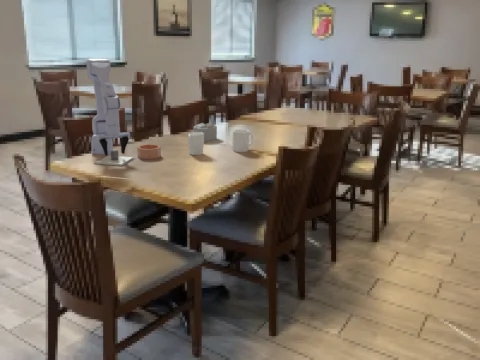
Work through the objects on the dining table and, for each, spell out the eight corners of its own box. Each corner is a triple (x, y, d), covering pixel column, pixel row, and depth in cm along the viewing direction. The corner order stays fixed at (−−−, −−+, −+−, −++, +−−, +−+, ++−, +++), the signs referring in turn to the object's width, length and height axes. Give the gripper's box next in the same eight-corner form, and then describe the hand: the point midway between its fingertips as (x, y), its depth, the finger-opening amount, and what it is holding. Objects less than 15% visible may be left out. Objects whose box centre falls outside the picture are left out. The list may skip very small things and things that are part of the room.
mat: (93, 165, 199) (92, 164, 199) (108, 157, 212) (108, 156, 212) (122, 167, 196) (122, 166, 196) (136, 159, 209) (136, 158, 209)
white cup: (201, 156, 218) (201, 135, 215) (185, 154, 220) (185, 134, 217) (205, 152, 226) (205, 132, 223) (190, 151, 227) (190, 131, 224)
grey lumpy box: (191, 138, 255) (191, 123, 252) (210, 136, 262) (210, 121, 260) (201, 142, 247) (201, 126, 244) (220, 139, 254) (221, 124, 252)
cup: (229, 149, 232) (229, 130, 229) (248, 147, 238) (248, 128, 235) (238, 153, 225) (238, 133, 222) (257, 150, 232) (258, 130, 229)
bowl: (135, 158, 210) (134, 148, 209) (143, 153, 220) (143, 143, 218) (155, 160, 209) (154, 150, 207) (163, 155, 218) (162, 145, 216)
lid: (96, 163, 199) (95, 153, 198) (109, 157, 211) (108, 146, 209) (121, 165, 197) (120, 155, 196) (133, 159, 208) (132, 148, 207)
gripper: (99, 127, 192) (101, 158, 196) (131, 124, 199) (133, 154, 204) (94, 124, 197) (96, 154, 201) (126, 121, 205) (127, 151, 209)
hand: (114, 154), depth 203 cm, fingers open, 7 cm apart
